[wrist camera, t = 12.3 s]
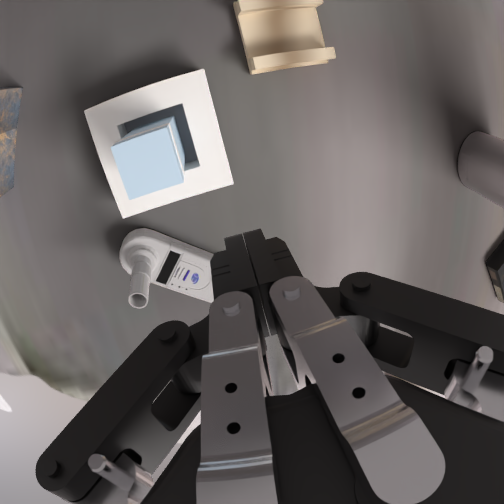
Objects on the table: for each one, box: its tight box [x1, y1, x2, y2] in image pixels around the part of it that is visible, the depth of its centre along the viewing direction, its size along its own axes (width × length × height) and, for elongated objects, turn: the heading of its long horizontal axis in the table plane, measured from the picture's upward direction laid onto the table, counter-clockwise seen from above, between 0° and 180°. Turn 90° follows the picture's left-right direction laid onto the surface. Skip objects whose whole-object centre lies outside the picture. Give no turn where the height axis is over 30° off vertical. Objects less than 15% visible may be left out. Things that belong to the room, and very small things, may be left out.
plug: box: [111, 116, 185, 200], centre depth 24 cm, size 4×4×10 cm
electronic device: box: [119, 228, 214, 308], centre depth 32 cm, size 5×10×15 cm
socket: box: [84, 69, 234, 219], centre depth 27 cm, size 11×11×4 cm
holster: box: [233, 0, 336, 75], centre depth 24 cm, size 8×8×3 cm
